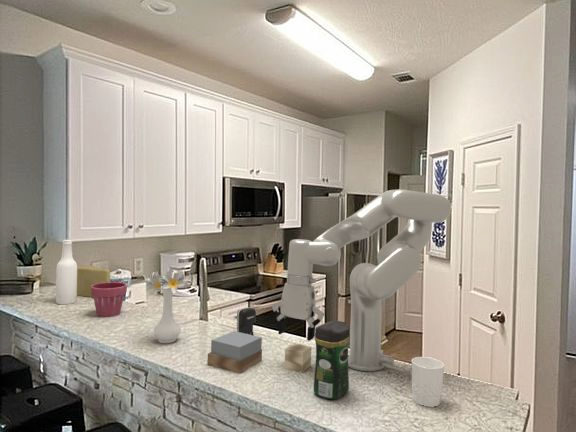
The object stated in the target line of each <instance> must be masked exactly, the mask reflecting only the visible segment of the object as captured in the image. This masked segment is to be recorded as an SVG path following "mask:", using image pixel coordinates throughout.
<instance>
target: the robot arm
mask: <svg viewBox="0 0 576 432" xmlns="http://www.w3.org/2000/svg"><path fill="white" fill-rule="evenodd" d="M451 213H452V205H451V202H450V201H449V199H448V198H447V197H446V196H443V195H441V194H437V193H429V192H422V191H415V190H409V189H403V188H402V189H390V190H386V191H383V192H382V193H381V194H379V195H378V196H376V197H375V198H373V199H372V200H371V201H369V202H368V203H367V204H366V205H364V206H363V207H362V208H360V209H359V210H358V211H356V212H354V213H353V214H352V215H350V216H348V217H347V218H345V219H343V220H342V221H340V222H338V223H337V224H335V225H333V226H332V227H330V228H328V229H327V230H325V231H324V232H323V233H321V234H320V235H319V236H318V237H316V238H314V239H313V241H312V240H309V239H301V238H300V239H297V238H296V239H291V240H290V241H289V245H288V257H287V258H288V259H287V260H288V261H287V273H286V274H287V276H286V282H285V283H284V286H283V290H282V295H281V299H280V301H278V302H276V303H274V304H273V303H272V305H271V308H272V311H273V314H274V316H275V317H276V320H277V330H278V335H282V334H284V333H285V332H286V324H287V323H286V322H287V321H286V318H287V317H288V318H293V319H297V320H298V319H299V320H301V321H302V320H303V321H306V323H307V324H308V327H307V336H306V340H307V341H309V342H310V341H312V340H314V339H315V329H316V327H317V325H319V324H320V323H321V322H322V320H323V318H324V317H325V315H326V314H325V312H323V311H322V310H320V309H319V308H318V307H317V306H316V305H317V303H316V289H315V285H313V284H316V282H317V278H314V276H313V269H314V268H313V267H314V265H320V266H324V267H331V266H334V265H337V263H339V261H340V260H341V256H342V251H341V249H342V248H343V247H345V246H347V245H349V244H351V243H353V242H357V241H361V240H364V239H367V238H370V237H372V236H373V235H374V234H375V233H376V232H378V231H379V230H380V229H382V228H383V227H385V226H386V225H387V224H388V223H390V222H391V221H392V220H394V219H395V218H401V219H402V218H403V219H407V224H406V226H404V228H403V229H402V230H401V231H400V232H399V233H398V234H396V235H395V236H394V237H393V238H391V240H389V241H387V243H386V244H384V245H383V246H382V247H381V248H380V249H379V251H378V253H377V257H376V258H377V262H378V265H375V264H373V263H370V262H362V263H358V264H357V265H355V266H354V267H353V268H352V270H351V273H350V275H349V289H350V290H349V291H350V326H349V333H350V338H349V354H348V368H350V369H353V370H357V371H361V372H376V371H381V370H384V369H385V367H386V365H391V366H394V364H395V358H393V356H392V355H386V354H384V350H383V349H381V347H382V346H381V345H382V316H383V315H382V314H383V306H382V305H383V303H382V301H384V300H386V299H388V298H390V297H391V296H393V295H394V294H395V293H396V292H398V290H399V289H401V288H402V287H403V286H404V285H405V284H406V283H407V282H409V281H410V280H411V279H412V278H413V277H415V275H416V274H417V273H418V271H419V270H420V267H421V266H422V255H421V253H420V252H422V250H423V249H424V248H425V247H426V246H427V245H428V243H429V241H430V240H431V237H432V233H433V232H432V231H433V230H432V229H433V224H435V223H437V224H438V223H441V222H444V221H446V220H447V219H448V218H449V217H450V215H451ZM279 307H280V310H279ZM316 315H317V318H316V319H315V316H316Z"/></svg>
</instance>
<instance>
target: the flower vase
mask: <svg viewBox="0 0 576 432" xmlns="http://www.w3.org/2000/svg"><path fill="white" fill-rule="evenodd" d="M185 277H186V276H185V274H184V273H181V272H180V270H177V272H176V273H175V274H174V275H173V272H172V271H171V270H168V271H167V272H166V274H164V275H160V274H159V271H158V270H157V271H154V272H152V274H151V277H148V278H145V279H144V282H145V283H146V284H147V286H148V287H147V288H146V290H147V291H148V293H152V292H153V297H156V296H158V295H157V294H158V292H161V291H162V294H163V305H162V306H163V307H162V314H161V315H162V316H161V319H160V320H159V322H158V323H157V325H155V327H154V328H153V335H154V337H155V338H156V339H157V341H158V343H161V344H171V343H174V342H176V341H177V337H179V336H180V335H181V332H182V329H181V327H180V325H179V324H178V323H177V321H176V320H175V318H174V313H173V297H174V295H175V294H177V292H178V287H184V289H186V290H188V288H189V286H190V285H189V283H187V281H185Z"/></svg>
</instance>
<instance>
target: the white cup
mask: <svg viewBox="0 0 576 432" xmlns="http://www.w3.org/2000/svg"><path fill="white" fill-rule="evenodd" d="M444 369H445V363H443V361H441V360H439V359H437V358H433V357H429V356H428V357H427V356H416V357H413V358H412V359H411V389H412V401H413V402H414V401H415V402H414V403H416V404H417V403H418V404H417V405H419V404H420V405H419V406H421V405H424V406H423V407H426V406H436V407H438V406H437V405H441V403H442V402H441V401H442V400H441V399H442V392H443V383H444V371H445V370H444Z"/></svg>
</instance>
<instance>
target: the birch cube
mask: <svg viewBox="0 0 576 432" xmlns="http://www.w3.org/2000/svg"><path fill="white" fill-rule="evenodd" d="M310 367H312V346H310V345H305V344H300V343H296V342H295V343H292V344H290V345H289V346H287V347H286V348H285V349H284V369H285V370H290V371H293V372H294V371H295V372H299V373H302V374H303V373H304V372H305V371H306V370H308V369H309V368H310Z"/></svg>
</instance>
